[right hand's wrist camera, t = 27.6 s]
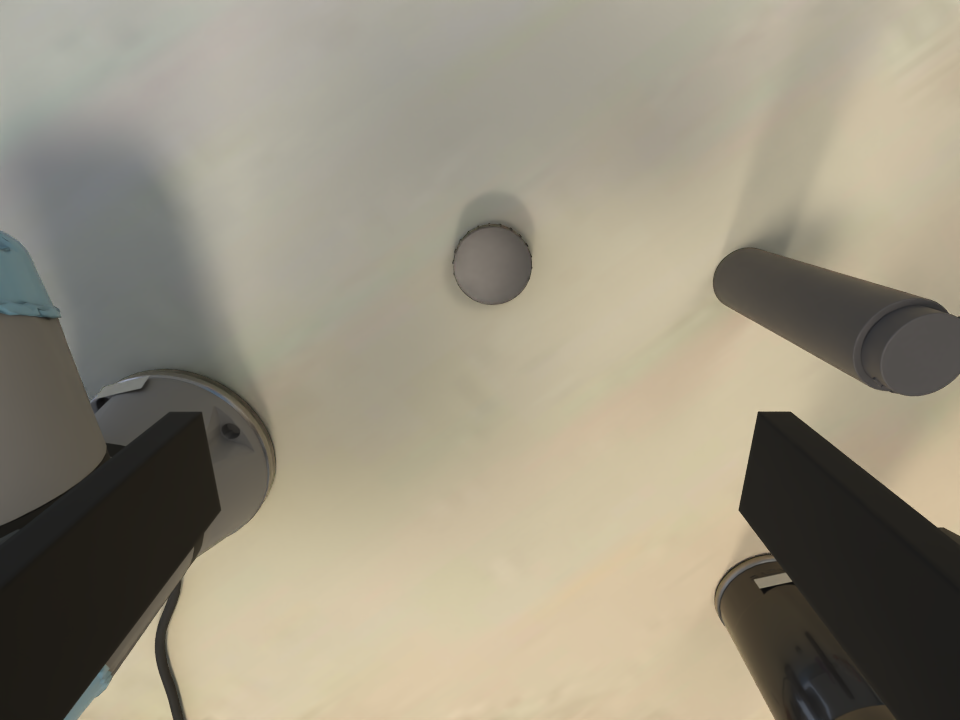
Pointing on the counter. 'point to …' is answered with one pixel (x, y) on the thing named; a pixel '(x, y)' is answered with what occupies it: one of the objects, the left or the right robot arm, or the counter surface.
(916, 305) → the dark grey cylinder
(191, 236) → the counter surface
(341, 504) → the counter surface
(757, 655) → the left robot arm
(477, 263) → the lid
